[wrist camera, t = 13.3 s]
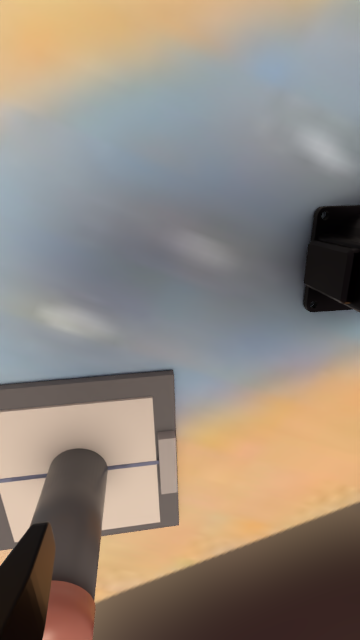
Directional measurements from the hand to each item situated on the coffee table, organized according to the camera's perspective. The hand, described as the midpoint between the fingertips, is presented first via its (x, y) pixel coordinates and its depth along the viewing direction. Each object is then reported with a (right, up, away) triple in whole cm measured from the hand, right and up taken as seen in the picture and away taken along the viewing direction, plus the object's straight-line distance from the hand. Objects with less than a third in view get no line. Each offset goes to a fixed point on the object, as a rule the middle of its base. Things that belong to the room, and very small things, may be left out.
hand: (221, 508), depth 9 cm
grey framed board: (-8, -5, +15) cm, 18 cm away
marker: (-8, -6, +14) cm, 17 cm away
